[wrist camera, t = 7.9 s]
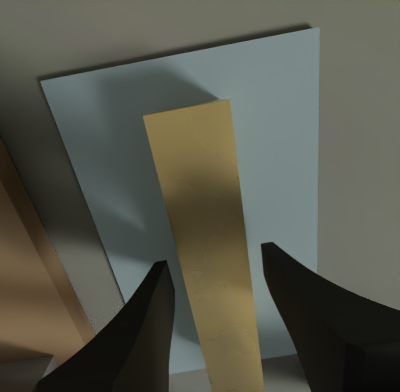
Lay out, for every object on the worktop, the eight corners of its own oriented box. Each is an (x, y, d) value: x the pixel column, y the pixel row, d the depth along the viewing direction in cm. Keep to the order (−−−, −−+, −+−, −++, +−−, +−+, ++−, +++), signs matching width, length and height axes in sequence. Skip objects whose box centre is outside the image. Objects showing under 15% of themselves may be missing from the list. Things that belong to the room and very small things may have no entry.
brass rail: (251, 342, 17) (264, 390, 14) (209, 349, 17) (213, 398, 14) (219, 99, 11) (230, 99, 8) (154, 111, 11) (142, 115, 8)
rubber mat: (313, 345, 18) (316, 350, 18) (154, 370, 18) (153, 376, 18) (315, 29, 10) (319, 26, 10) (44, 81, 11) (40, 81, 10)
